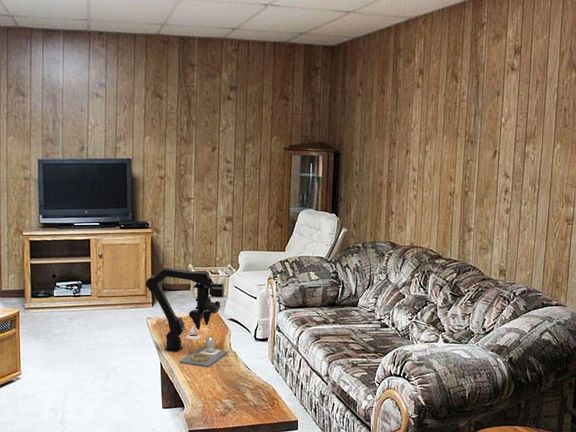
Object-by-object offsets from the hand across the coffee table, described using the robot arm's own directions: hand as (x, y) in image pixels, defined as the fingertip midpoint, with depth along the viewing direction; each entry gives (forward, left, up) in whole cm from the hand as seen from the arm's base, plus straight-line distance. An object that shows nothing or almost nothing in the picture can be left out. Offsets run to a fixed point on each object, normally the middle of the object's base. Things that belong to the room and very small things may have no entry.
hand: (202, 327), depth 340 cm
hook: (-14, +18, -12) cm, 26 cm away
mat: (+6, -4, -11) cm, 13 cm away
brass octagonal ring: (+6, -15, -11) cm, 20 cm away
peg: (+6, -4, -11) cm, 13 cm away
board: (+6, -10, -12) cm, 17 cm away
